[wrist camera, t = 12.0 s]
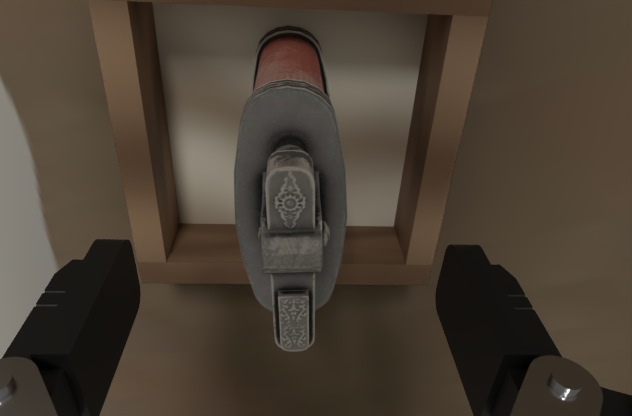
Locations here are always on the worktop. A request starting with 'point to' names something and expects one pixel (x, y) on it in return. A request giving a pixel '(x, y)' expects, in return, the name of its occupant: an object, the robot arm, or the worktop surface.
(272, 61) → the lighter
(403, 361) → the worktop surface
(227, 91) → the walnut holder
